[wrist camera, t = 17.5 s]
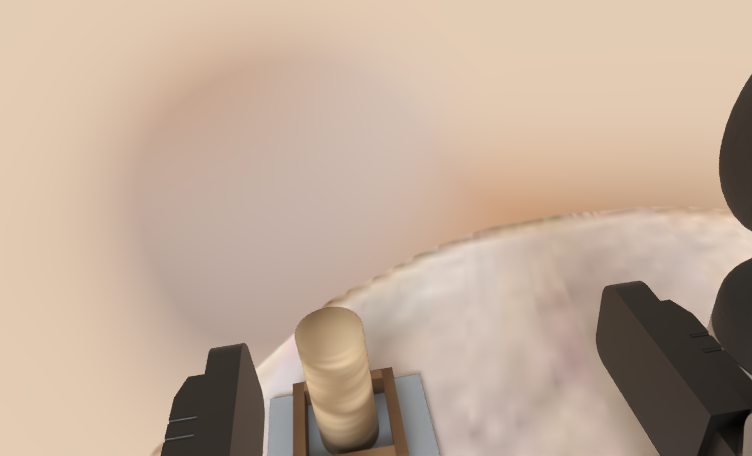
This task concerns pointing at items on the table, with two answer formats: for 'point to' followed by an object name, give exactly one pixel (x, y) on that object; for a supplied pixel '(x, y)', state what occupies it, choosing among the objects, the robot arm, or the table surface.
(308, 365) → the maple pillar
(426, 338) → the table surface
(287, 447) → the board
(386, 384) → the socket collar
